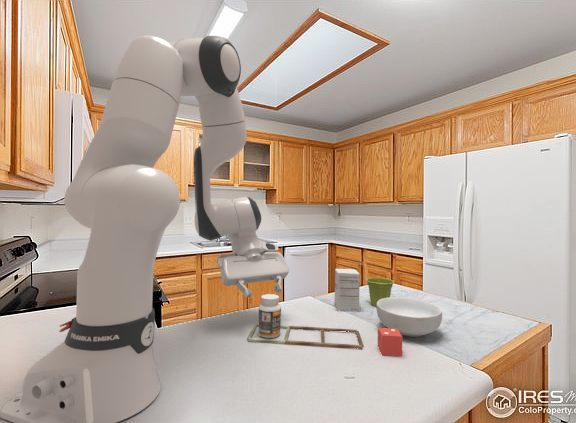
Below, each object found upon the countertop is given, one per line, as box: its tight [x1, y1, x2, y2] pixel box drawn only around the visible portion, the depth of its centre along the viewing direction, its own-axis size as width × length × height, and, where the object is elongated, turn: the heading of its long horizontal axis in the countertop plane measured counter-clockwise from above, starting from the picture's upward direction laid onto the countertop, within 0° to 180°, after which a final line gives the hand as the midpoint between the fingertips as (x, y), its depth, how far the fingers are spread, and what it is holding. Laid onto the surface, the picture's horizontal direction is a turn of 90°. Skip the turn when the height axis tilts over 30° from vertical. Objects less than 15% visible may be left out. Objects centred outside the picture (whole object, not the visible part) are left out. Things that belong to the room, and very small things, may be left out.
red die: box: [377, 327, 403, 357], centre depth 68 cm, size 4×4×5 cm
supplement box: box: [334, 268, 361, 312], centre depth 98 cm, size 7×7×13 cm
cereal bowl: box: [376, 296, 443, 338], centre depth 80 cm, size 17×17×7 cm
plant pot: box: [365, 277, 395, 308], centre depth 102 cm, size 9×9×9 cm
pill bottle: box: [258, 293, 282, 339], centre depth 76 cm, size 6×6×10 cm
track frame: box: [246, 323, 365, 350], centre depth 75 cm, size 28×10×1 cm, turn 84°
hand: (264, 293), depth 78 cm, fingers open, 8 cm apart
